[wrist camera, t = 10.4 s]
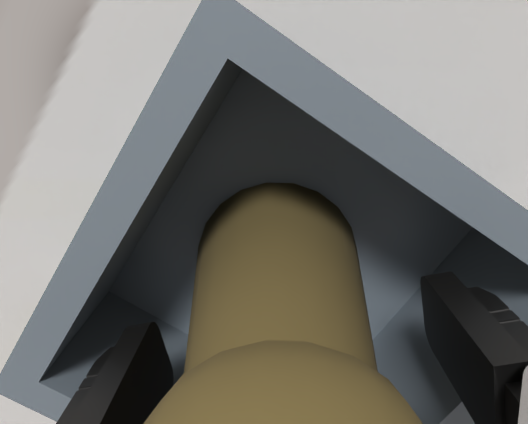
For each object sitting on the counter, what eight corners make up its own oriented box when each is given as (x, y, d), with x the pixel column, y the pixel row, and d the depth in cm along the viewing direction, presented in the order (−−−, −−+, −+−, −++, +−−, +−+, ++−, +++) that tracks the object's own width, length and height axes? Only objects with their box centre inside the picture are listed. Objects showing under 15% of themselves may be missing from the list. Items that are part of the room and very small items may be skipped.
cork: (390, 261, 15) (651, 667, 5) (274, 353, 17) (277, 821, 6) (280, 146, 14) (306, 352, 3) (165, 256, 15) (-67, 639, 5)
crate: (236, 23, 14) (211, -18, 8) (499, 209, 15) (632, 285, 10) (86, 285, 17) (-9, 389, 11) (318, 411, 19) (338, 557, 13)
